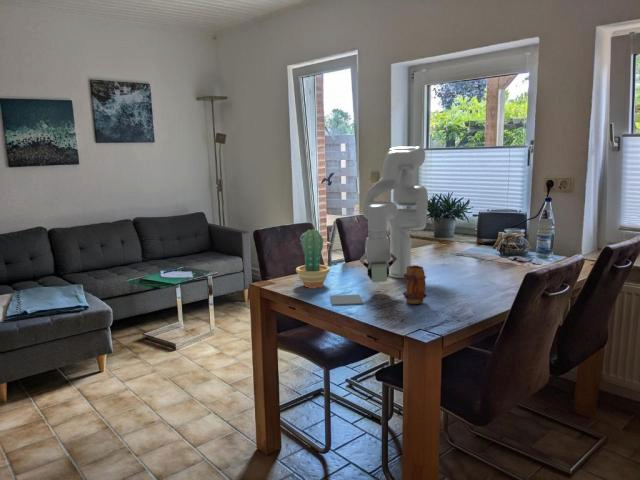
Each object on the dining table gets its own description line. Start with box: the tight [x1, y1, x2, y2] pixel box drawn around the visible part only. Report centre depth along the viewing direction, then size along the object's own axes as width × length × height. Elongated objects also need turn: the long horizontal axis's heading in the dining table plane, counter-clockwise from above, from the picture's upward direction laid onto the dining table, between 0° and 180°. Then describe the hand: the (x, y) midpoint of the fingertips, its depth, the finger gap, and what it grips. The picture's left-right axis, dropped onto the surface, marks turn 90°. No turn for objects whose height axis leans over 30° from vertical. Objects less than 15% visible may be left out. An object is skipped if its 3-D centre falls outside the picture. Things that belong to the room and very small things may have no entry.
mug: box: [402, 265, 428, 305], centre depth 189 cm, size 15×8×15 cm, turn 5°
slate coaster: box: [329, 294, 364, 306], centre depth 198 cm, size 12×12×1 cm
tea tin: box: [370, 262, 388, 283], centre depth 207 cm, size 6×6×7 cm
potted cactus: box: [295, 228, 331, 289], centre depth 220 cm, size 16×15×25 cm
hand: (378, 276), depth 208 cm, fingers closed on tea tin, 6 cm apart
